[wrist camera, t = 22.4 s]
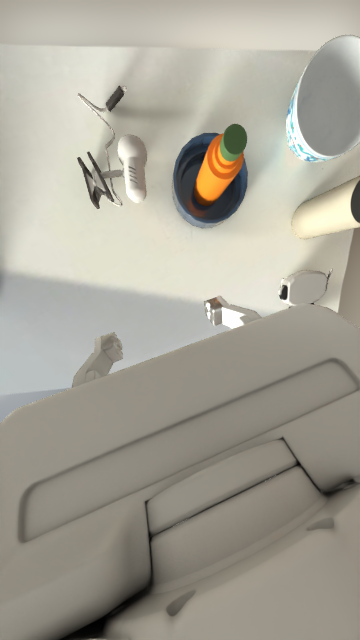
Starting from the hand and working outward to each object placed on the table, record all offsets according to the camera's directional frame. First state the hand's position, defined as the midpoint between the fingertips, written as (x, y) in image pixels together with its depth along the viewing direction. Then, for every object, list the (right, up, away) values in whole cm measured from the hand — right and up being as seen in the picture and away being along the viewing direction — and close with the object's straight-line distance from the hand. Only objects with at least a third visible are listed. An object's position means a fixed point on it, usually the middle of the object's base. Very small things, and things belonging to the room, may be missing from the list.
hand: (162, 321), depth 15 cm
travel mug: (+31, +24, +25) cm, 46 cm away
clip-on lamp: (-11, +31, +18) cm, 38 cm away
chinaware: (+27, +38, +20) cm, 51 cm away
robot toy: (+32, +6, +30) cm, 45 cm away
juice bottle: (+7, +27, +21) cm, 35 cm away
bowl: (+7, +27, +21) cm, 35 cm away
